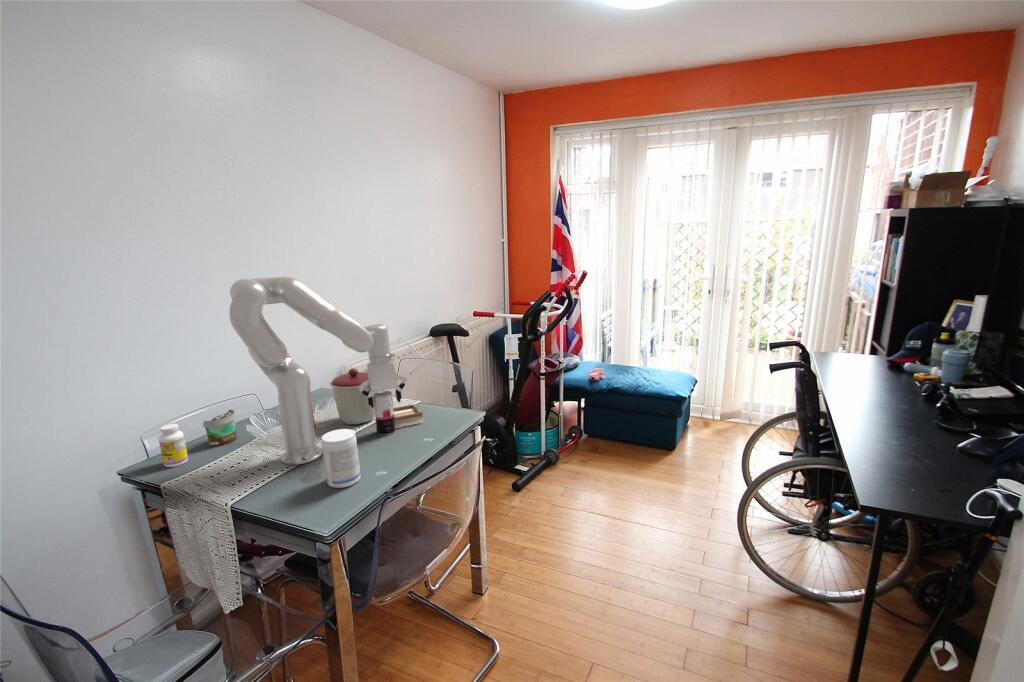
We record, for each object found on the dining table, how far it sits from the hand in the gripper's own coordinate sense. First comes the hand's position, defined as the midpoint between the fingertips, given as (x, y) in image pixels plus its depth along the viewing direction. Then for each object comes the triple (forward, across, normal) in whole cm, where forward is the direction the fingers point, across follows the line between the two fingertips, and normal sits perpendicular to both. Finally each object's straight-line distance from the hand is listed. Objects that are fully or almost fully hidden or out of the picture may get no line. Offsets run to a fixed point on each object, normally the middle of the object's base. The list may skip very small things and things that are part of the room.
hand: (385, 403), depth 173 cm
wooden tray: (+11, -8, -7) cm, 15 cm away
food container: (+10, +53, -21) cm, 58 cm away
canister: (+11, +8, -18) cm, 22 cm away
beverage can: (+11, +1, 0) cm, 11 cm away
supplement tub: (+10, +20, +30) cm, 38 cm away
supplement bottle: (+9, +67, -10) cm, 68 cm away
